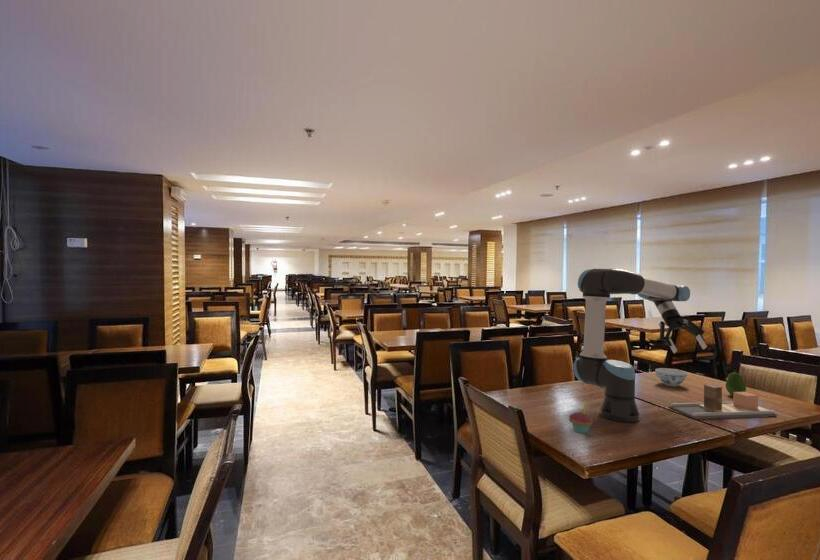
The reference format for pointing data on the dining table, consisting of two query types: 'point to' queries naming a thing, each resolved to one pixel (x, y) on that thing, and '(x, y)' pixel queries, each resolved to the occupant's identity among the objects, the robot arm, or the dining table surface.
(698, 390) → the dining table surface
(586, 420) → the cupcake
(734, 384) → the green bumpy rounded piece
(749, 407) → the block
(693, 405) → the board
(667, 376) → the chinaware
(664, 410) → the dining table surface
